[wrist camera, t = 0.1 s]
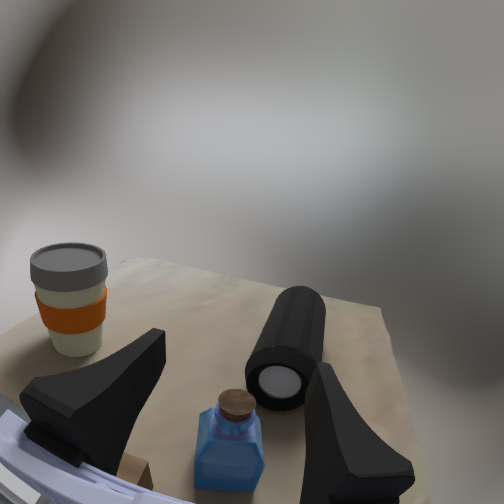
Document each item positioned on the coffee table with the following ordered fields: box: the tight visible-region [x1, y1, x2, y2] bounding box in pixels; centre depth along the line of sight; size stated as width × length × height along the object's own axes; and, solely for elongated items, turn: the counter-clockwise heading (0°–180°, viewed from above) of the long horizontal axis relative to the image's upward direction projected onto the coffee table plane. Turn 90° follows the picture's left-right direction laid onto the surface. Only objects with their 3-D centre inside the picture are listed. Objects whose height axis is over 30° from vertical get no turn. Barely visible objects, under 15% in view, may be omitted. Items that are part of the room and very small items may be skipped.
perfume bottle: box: [194, 389, 264, 492], centre depth 24 cm, size 6×6×12 cm
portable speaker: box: [245, 286, 326, 411], centre depth 46 cm, size 26×10×10 cm, turn 165°
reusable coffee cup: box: [30, 243, 108, 357], centre depth 39 cm, size 12×13×15 cm
